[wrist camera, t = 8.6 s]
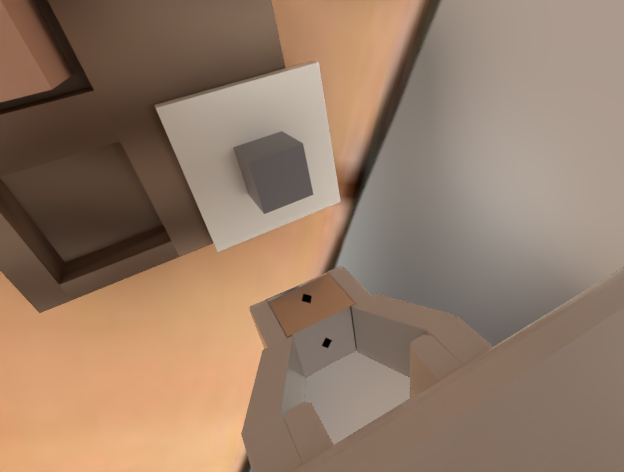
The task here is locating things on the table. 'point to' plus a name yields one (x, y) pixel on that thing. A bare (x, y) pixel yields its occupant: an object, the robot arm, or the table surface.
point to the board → (116, 139)
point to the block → (28, 51)
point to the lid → (255, 152)
